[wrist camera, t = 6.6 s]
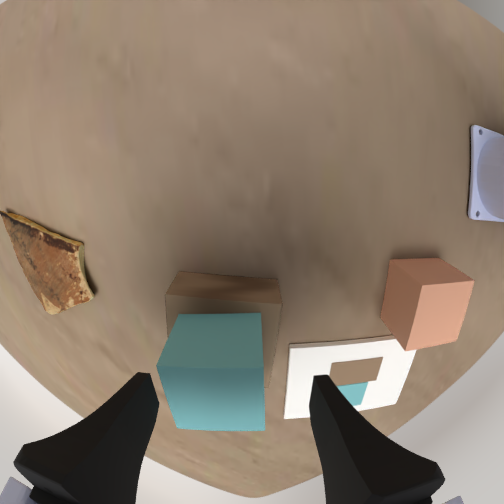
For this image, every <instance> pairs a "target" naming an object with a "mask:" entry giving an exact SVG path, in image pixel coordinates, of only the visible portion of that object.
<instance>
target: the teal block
mask: <svg viewBox="0 0 504 504" xmlns="http://www.w3.org/2000/svg"><path fill="white" fill-rule="evenodd" d="M156 366H157V370H158V373H159V376H160V379H161V383H162V386H163V389H164V392H165V395H166V398H167V401H168V404H169V407H170V410H171V412H172V415H173V418H174V421H175V423H176V426H177V428H181V429H194V430H213V431H264V430H265V402H264V363H263V343H262V324H261V313H235V314H179V315H178V317H177V319H176V321H175V324H174V326H173V328H172V330H171V333H170V335H169V337H168V340H167V342H166V344H165V347H164V349H163V351H162V354H161V356H160V358H159V361H158V363H157V365H156Z"/></svg>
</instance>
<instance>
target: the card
mask: <svg viewBox="0 0 504 504" xmlns="http://www.w3.org/2000/svg"><path fill="white" fill-rule="evenodd" d="M415 352H416V350H411V351H404V349H403V348H402V347H401V345H400V344H399V342H398V341H397V340H396V338H395V337H394V335H391V336H383V337H375V338H366V339H356V340H345V341H333V342H320V343H303V344H290V345H289V359H288V371H287V383H286V395H285V405H284V419H292V418H305V417H310V412H309V401H310V395H311V389H312V383H313V376H314V375H325V374H327V375H329V376H330V378H331V379H332V381H333V382H334V383H335V385H336V386H337V387H338V389H339V390H340V391H341V393H342V394H343V395H344V396H345V398H346V399H347V400H348V401H349V402H350V403H351V404H352V406H353V407H354V408H355V409H356V410H357V411H361V410H367V409H372V408H377V407H382V406H387V405H392V404H396V402H397V399H398V397H399V394H400V392H401V390H402V387H403V385H404V382H405V380H406V377H407V374H408V372H409V369H410V366H411V364H412V361H413V358H414V355H415Z"/></svg>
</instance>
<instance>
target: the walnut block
mask: <svg viewBox="0 0 504 504" xmlns="http://www.w3.org/2000/svg"><path fill="white" fill-rule="evenodd" d="M165 302H166V319H167V334H168V337H169V335H170V333H171V330H172V328H173V326H174V324H175V321H176V319H177V317H178V315H179V314H235V313H261V324H262V343H263V363H264V388H269V385H270V379H271V374H272V368H273V362H274V356H275V350H276V344H277V337H278V331H279V325H280V318H281V311H282V305H283V304H282V299H281V295H280V290H279V285H278V281H277V279H265V278H252V277H239V276H227V275H215V274H204V273H193V272H182V271H179V272H178V274H177V276H176V277H175V279H174V280H173V282H172V284H171V285H170V287H169V289H168V290H167V292H166V294H165Z"/></svg>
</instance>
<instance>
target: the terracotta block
mask: <svg viewBox="0 0 504 504" xmlns="http://www.w3.org/2000/svg"><path fill="white" fill-rule="evenodd" d="M474 281H475V280H473V279H472V278H470V277H469V276H467V275H465V274H464V273H462V272H461V271H459V270H458V269H456V268H455V267H453V266H451V265H450V264H448V263H447V262H445V261H443V260H442V259H440V258H419V259H390V263H389V270H388V276H387V282H386V288H385V294H384V300H383V305H382V310H381V315H380V318H381V319H382V320H383V322H384V323H385V324H386V326H387V327H388V328H389V330H390V331H391V333H392V334H393V335H394V337H395V338H396V340H397V341H398V342H399V344H400V345H401V347H402V348H403V349H404V351H411V350H416V349H421V348H426V347H431V346H436V345H441V344H445V343H450V342H454V341H456V340H457V338H458V335H459V332H460V329H461V326H462V323H463V320H464V317H465V313H466V310H467V307H468V303H469V300H470V296H471V292H472V289H473V285H474Z"/></svg>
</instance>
